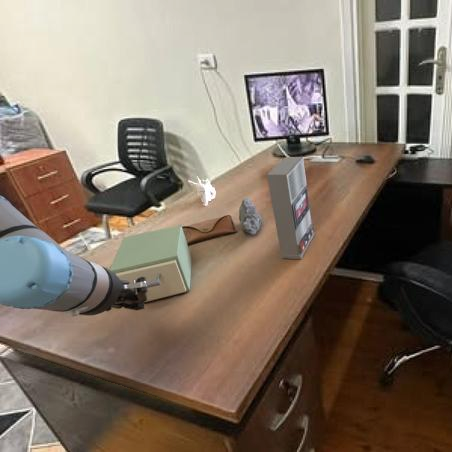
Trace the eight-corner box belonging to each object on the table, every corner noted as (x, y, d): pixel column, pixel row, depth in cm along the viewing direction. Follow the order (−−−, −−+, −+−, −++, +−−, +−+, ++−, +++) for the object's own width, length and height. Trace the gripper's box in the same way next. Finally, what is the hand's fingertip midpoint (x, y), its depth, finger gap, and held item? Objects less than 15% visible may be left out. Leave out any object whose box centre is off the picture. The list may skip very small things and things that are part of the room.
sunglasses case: (179, 247, 107) (173, 227, 107) (181, 248, 113) (175, 229, 113) (238, 231, 113) (232, 211, 113) (236, 233, 120) (230, 214, 120)
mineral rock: (254, 240, 108) (247, 211, 103) (224, 237, 111) (216, 209, 107) (272, 220, 119) (267, 193, 114) (244, 218, 122) (238, 192, 117)
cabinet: (189, 291, 89) (177, 255, 83) (126, 307, 85) (108, 271, 80) (191, 257, 103) (181, 224, 97) (137, 269, 99) (123, 237, 94)
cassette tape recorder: (302, 260, 97) (289, 175, 84) (281, 258, 98) (265, 174, 86) (315, 234, 108) (306, 156, 96) (296, 233, 110) (285, 156, 98)
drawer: (185, 301, 84) (174, 271, 79) (123, 317, 80) (108, 286, 76) (188, 259, 100) (179, 232, 96) (137, 270, 97) (125, 243, 92)
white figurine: (206, 206, 134) (199, 182, 129) (188, 206, 135) (181, 183, 131) (220, 193, 144) (215, 171, 139) (204, 193, 145) (198, 171, 141)
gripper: (32, 326, 48) (107, 330, 71) (134, 301, 52) (175, 312, 74) (29, 274, 50) (103, 293, 73) (128, 252, 54) (169, 278, 76)
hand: (139, 303), depth 73 cm, fingers closed
